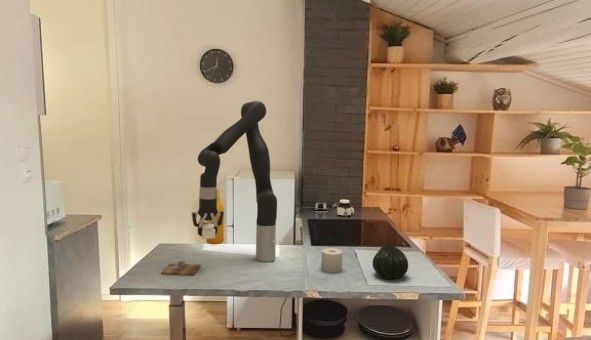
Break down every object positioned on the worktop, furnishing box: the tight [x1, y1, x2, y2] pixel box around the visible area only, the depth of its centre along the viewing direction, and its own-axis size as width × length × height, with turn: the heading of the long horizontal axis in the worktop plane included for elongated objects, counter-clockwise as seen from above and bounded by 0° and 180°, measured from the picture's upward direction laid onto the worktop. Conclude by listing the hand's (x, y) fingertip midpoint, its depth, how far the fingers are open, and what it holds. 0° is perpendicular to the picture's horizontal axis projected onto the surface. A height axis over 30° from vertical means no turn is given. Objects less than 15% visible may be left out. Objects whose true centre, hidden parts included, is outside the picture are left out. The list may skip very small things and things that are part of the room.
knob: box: [200, 221, 215, 240], centre depth 179 cm, size 6×6×6 cm
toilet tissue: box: [320, 247, 343, 274], centre depth 187 cm, size 9×13×9 cm
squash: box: [372, 243, 409, 280], centre depth 180 cm, size 14×15×15 cm
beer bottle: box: [205, 188, 225, 245], centre depth 222 cm, size 9×9×29 cm
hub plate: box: [160, 260, 202, 277], centre depth 180 cm, size 14×11×4 cm
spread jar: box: [336, 199, 355, 216], centre depth 297 cm, size 12×11×12 cm
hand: (207, 234), depth 179 cm, fingers closed on knob, 5 cm apart
